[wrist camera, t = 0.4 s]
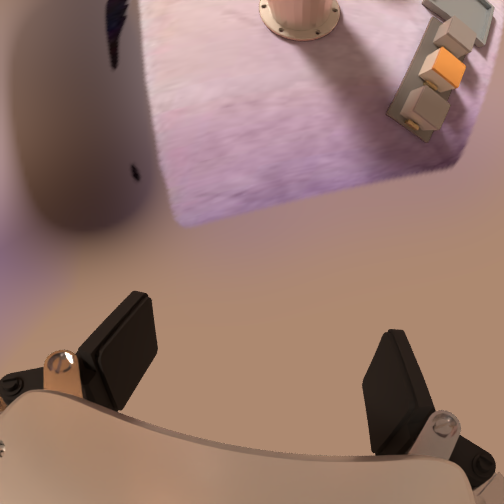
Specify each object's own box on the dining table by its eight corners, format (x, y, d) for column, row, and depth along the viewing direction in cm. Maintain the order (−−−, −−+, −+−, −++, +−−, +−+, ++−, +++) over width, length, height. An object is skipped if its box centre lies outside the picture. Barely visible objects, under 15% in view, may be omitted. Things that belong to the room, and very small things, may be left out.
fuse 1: (399, 113, 35) (414, 110, 30) (410, 91, 33) (426, 84, 28) (422, 130, 35) (439, 129, 30) (433, 108, 33) (450, 104, 28)
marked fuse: (418, 75, 32) (433, 67, 26) (426, 55, 30) (442, 46, 25) (440, 92, 32) (458, 87, 27) (448, 72, 30) (466, 66, 25)
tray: (421, 3, 26) (426, -2, 24) (436, -31, 21) (440, -35, 19) (478, 47, 27) (484, 45, 25) (488, 10, 22) (494, 7, 20)
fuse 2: (432, 42, 29) (448, 32, 23) (439, 26, 27) (454, 15, 21) (454, 59, 29) (471, 51, 23) (460, 42, 27) (476, 34, 22)
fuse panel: (385, 114, 36) (390, 112, 34) (430, 18, 27) (436, 13, 25) (425, 142, 37) (432, 143, 34) (466, 45, 28) (473, 42, 25)
